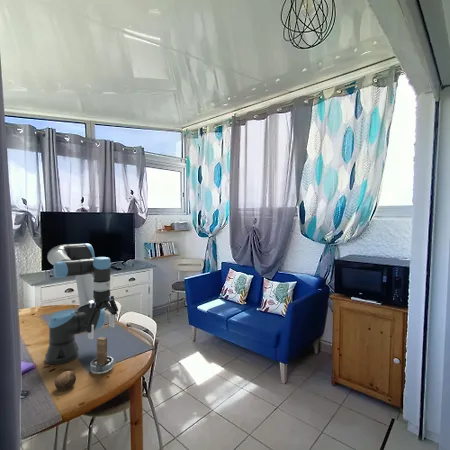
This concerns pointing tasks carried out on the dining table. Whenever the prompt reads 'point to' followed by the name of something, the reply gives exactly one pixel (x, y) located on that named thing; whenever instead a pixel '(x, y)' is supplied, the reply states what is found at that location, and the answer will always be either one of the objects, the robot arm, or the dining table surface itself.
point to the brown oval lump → (65, 380)
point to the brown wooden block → (102, 350)
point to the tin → (101, 366)
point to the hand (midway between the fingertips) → (101, 332)
